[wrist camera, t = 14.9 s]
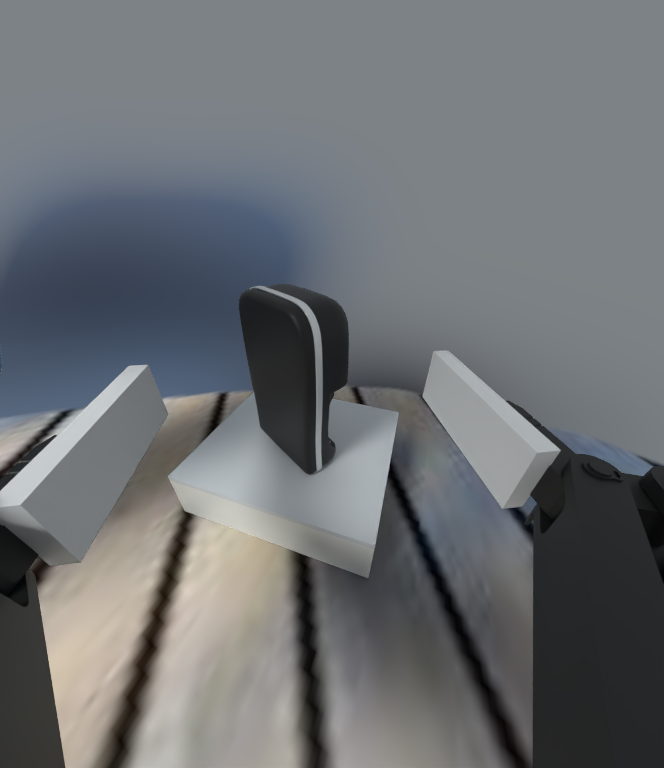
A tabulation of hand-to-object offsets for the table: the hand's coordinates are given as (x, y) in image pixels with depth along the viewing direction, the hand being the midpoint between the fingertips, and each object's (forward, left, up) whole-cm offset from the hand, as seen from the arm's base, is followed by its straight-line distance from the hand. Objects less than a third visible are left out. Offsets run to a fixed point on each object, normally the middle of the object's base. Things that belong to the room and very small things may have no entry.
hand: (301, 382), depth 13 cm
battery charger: (-2, +4, -8) cm, 9 cm away
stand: (-2, +4, -12) cm, 13 cm away
